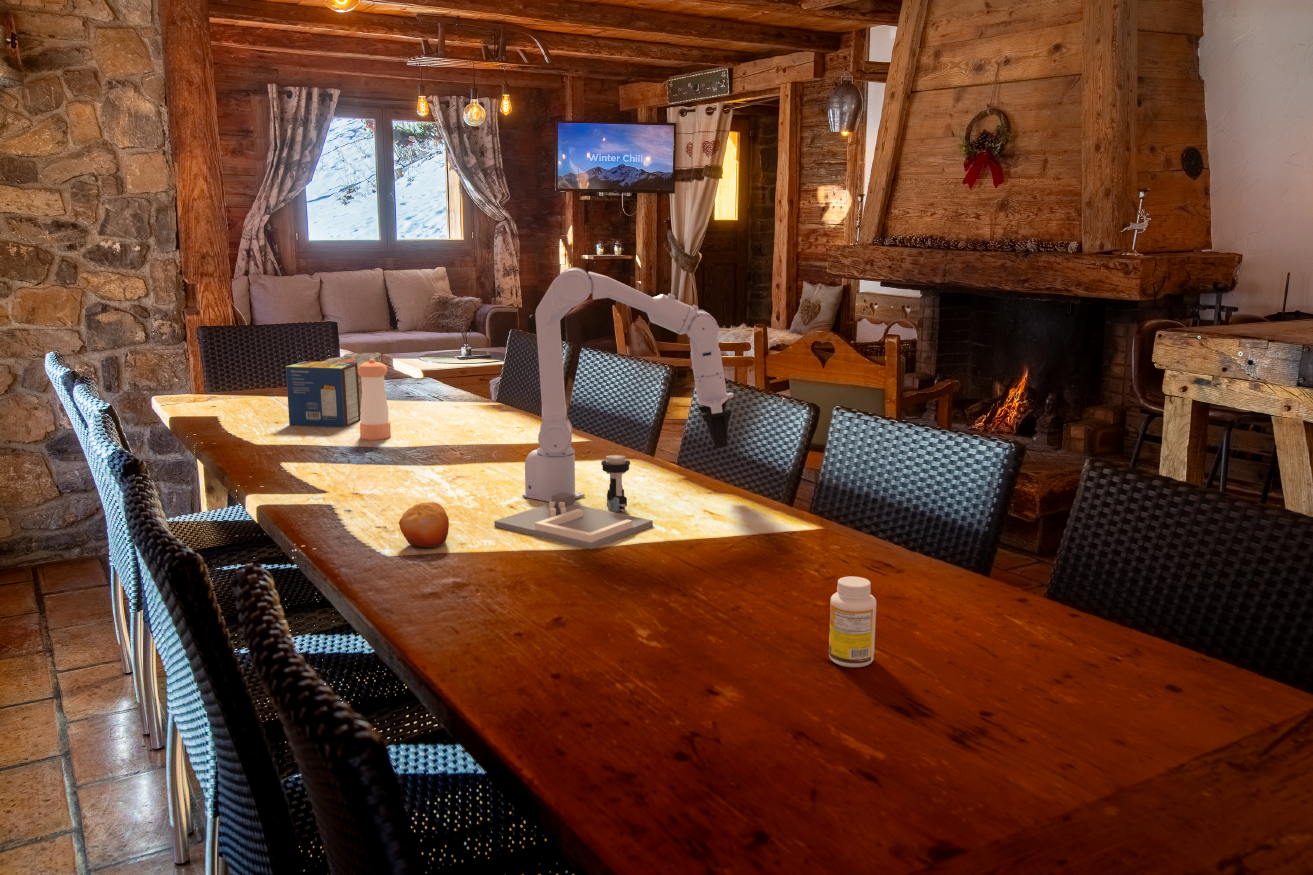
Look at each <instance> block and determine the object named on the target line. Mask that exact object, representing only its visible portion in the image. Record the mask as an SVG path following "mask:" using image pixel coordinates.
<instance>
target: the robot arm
mask: <svg viewBox="0 0 1313 875" xmlns="http://www.w3.org/2000/svg"><path fill="white" fill-rule="evenodd" d="M591 294H592V300H598V299H611V300H613V301H617V302H619V303H621V304H624V305H627V306H629V307H631V308H634V309H636V310H639V311H641V312H644V313H646V314H647V317H648V319H649V321H650V323H652V324H654V325H657V326H659V327H662V328H665V329H666V330H669V331H671V332H673V333H676V334H678V335H685V334H686V336H687V337H688V338H689V345H690V359H691V365H692V372H693V378H694V386H695V391H696V392H695V393H696V404H698V405H697V408H698V410H699V411H700V414H701V417H702V419H703V421H704V422H705V423H706V427H707V429H708V432H709V435H710V438H711V440H712V441H713V444H714V447H715V448H716V449H722V448H725V447H726V448H727V447H728V446H727V445H728V437H729V436H728V431H729V422H730V419H731V416H732V409H726V405H727V401H728V400H729V399H731V398H734V393H733V392H727V386H726V379H725V372H724V366H723V359H722V353H721V348H720V346H719V344H720V341H719V339H718V336H719V332H720V326H719V325H718V322H717V320H716V319H715V318H714V316H712V315H711V313H708V312H707V311H706V310H704V309H699V306H697V305H695V304H693V305H692V306H691V305H689V304H687V303H684V302H682V301H680V300H679V299H676V296H675V295H674V294H672V293H668V294H664V293H660V294H659V295H657V296H651V295H648V294H647V293H644V292H642V291H640V290H637V289H635V288H633V287H631V286H629V285H627V284H626V283H622V282H620V281H618V280H616V279H614V278H612V277H609V276H607V275H604V274H601V273H597V272H593V271H588V272H587V271H586V270H585V269H583V268H580V267H568V268H567V269H565V270H564V271H562V272H561V273H560V274H559V275H557V277H555V278H554V279H553V280H552V282H551V283H550V285H549V287H548V289H547V290H546V292H545V294H544V296H543V297H542V299H541V300H540V302H539V304H538V305H537V307H536V309H535V325H536V326H535V327H536V328H535V329H536V330H535V331H536V340H537V354H538V355H537V358H538V370H539V383H540V384H539V385H540V396H541V399H540V400H541V424H540V428H539V432H538V437H537V440H538V444H539V447H538V448H537V449H534V450H531V451H530V452H529V453H528V455H527V456H526V459H525V462H524V487H525V488H524V489H525V490H524V492H525V493H522V497H523V498H529V499H534V500H537V501H543V502H548V503H549V502H552V496H553V495H556V494H559V493H567V494H572V495H574V499H575V500H576V499H579V498H582V497H584V496H585V495H586V494H585V493H584V492H580V491H576V460H575V459H576V456H575V455H576V454H575V453H576V452H575V451H576V449H575V448H574V447H572V446H571V445H572V442H573V437H572V434H573V425H572V423H571V420H570V419H569V417H568V413H567V404H566V392H565V379H564V378H565V377H564V376H565V375H564V364H563V363H564V362H563V360H564V359H563V346H562V344H563V343H562V334H561V333H562V332H561V320H562V319H563V318H564V317H565V316H566V315H567V314H568V312H570V310H571V309H572V308H575V307H577V306H579V305H580V304H582V303H584V302H586V300H588V298H589V296H590V295H591Z"/></svg>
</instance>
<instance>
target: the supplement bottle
mask: <svg viewBox="0 0 1313 875" xmlns="http://www.w3.org/2000/svg"><path fill="white" fill-rule="evenodd" d="M871 584H872V583H871V581H870V580H869V579H867V578H865V577H861V576H854V575H853V576H844V577H840V578H839V579H838V580H837V587H836V592H835V593H833V594H832V595H831V597H830V604H829V606H830V607H829V609H830V610H829V632H828V634H829V635H828V636H829V638H828V639H829V640H828V641H829V642H828V643H829V644H828V656H829V659H830V660H831V661H832V662H833V663H834V664H836V665H839V666H841V667H846V668H862V667H866V666H869V665H870V664H872V663H873V661H874V659H875V646H876V645H875V643H876V627H877V626H876V623H877V599H876V598H875V597H874V595H872V593H871V591H872V590H871V588H872V587H871V586H872V585H871Z"/></svg>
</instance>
